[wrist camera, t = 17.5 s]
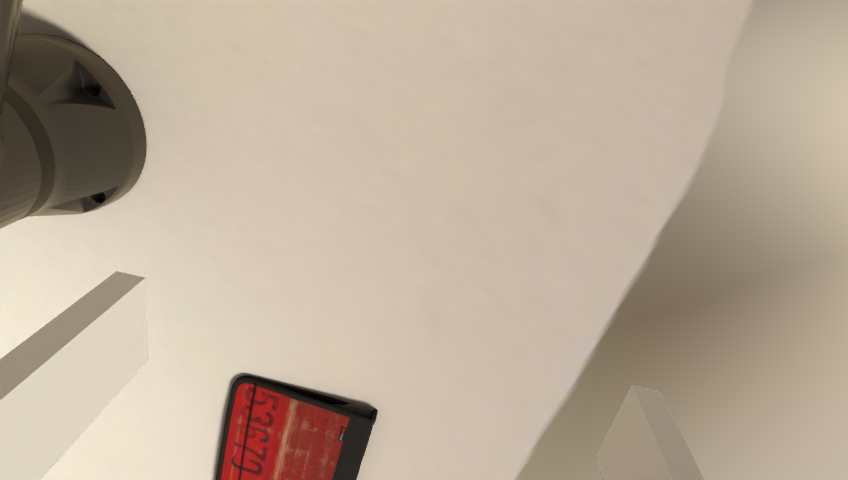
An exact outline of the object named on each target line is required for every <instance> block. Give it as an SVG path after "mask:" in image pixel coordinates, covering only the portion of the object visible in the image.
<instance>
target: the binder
mask: <svg viewBox="0 0 848 480" xmlns="http://www.w3.org/2000/svg"><path fill="white" fill-rule="evenodd" d="M332 404H337V405H346V404H349V403H347V402H344V401H342V400H338V399H335V398H332V397H328V396H325V395H321V394H318V393H314V392H310V391H307V390H303V389H299V388H295V387H292V386H288V385H284V384H280V383H276V382H272V381H268V380H264V379H260V378H256V377H252V376H242V377H239V378H238V379H237V380H236V381H235V383H234V384H233V386H232V389H231V394H230V399H229V404H228V409H227V414H226V419H225V425H224V432H223V437H222V444H221V449H220V456H219V462H218V468H217V475H216V480H356V478H357V476H358V472H359V469H360V465H361V462H362V459H363V456H364V453H365V450H366V447H367V444H368V441H369V437H370V434H371V431H372V427H373V425H374V423H375V420H376V417H377V409H374V410H373V411H372V414H371V417H370V418H366V417H364V416H361V415H359V414H357V413H354V412H351V411H349V410H346V409H342V408H339V407H336V406H334V405H332Z"/></svg>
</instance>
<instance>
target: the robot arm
mask: <svg viewBox="0 0 848 480" xmlns="http://www.w3.org/2000/svg"><path fill="white" fill-rule="evenodd" d="M22 2H23V0H0V228H2V227H4V226H7V225H9V224H11V223H13V222H15V221H18V220H20V219H23V218H25V217H27V216H49V215H72V214H82V213H86V212H90V211H94V210H97V209H99V208H101V207H104V206H106V205H108V204H110V203H112V202H114V201H116V200H118V199H119V198H121V197H122V196H124V195H125V194H126V193H127V192H128V191H130V189H131V188H132V187H133V186H134V185H135V183H136V182H137V180H138V178H139V176H140V174H141V172H142V169H143V166H144V162H145V157H146V134H145V128H144V124H143V120H142V117H141V114H140V111H139V109H138V106H137V104H136V102H135V100H134V98H133V96H132V95H131V93H130V91H129V90H128V88H127V87H126V85H125V84H124V82H123V81H122V80H121V79H120V77H119V76H118V75H117V74H116V73H115V72H114V71H113V69H112V68H110V67H109V66H108V65H107V64H106V63H105V62H104V61H103V60H102V59H100V58H99V57H98V56H96V55H95V54H94V53H92V52H91V51H89V50H88V49H86V48H84V47H82V46H80V45H78V44H76V43H74V42H72V41H69V40H67V39H64V38H60V37H56V36H51V35H43V34H17V30H18V25H19V19H20V13H21V8H22ZM148 360H149V359H148V333H147V308H146V282H145V278H144V277H140V276H135V275H131V274H126V273H121V272H117V271H116V272H115V273H114V274H112V275H111V276H110V277H108V278H107V279H106V280H104V281H103V282H102V283H100V284H99V285H98V286H97V287H95V288H94V289H93V290H91V291H90V292H89V293H87V294H86V295H85V296H83V297H82V298H81V299H79V300H78V301H77V302H75V303H74V304H73V305H71V306H70V307H69V308H67V309H66V310H65V311H64V312H62V313H61V314H60V315H58V316H57V317H56V318H54V319H53V320H52V321H50V322H49V323H48V324H46V325H45V326H44V327H42V328H41V329H40V330H38V331H37V332H36V333H35V334H33V335H32V336H31V337H29V338H28V339H27V340H25V341H24V342H23V343H21V344H20V345H19V346H17V347H16V348H15V349H13V350H12V351H11V352H9V353H8V354H7V355H5V356H4V357H3V358H2V359H0V480H41V479H42V478H43V477H44V475H45V474H46V473H47V472H48V471H49V470H50V469H51V468H52V467H53V465H54V464H55V463H56V462H57V461H58V460H59V459H60V458H61V457H62V455H63V454H64V453H65V452H66V451H67V450H68V449H69V448H70V447H71V445H72V444H73V443H74V442H75V441H76V440H77V439H78V438H79V437H80V435H81V434H82V433H83V432H84V431H85V430H86V429H87V428H88V427H89V425H90V424H91V423H92V422H93V421H94V420H95V419H96V418H97V417H98V415H99V414H100V413H101V412H102V411H103V410H104V409H105V408H106V407H107V405H108V404H109V403H110V402H111V401H112V400H113V399H114V398H115V397H116V395H117V394H118V393H119V392H120V391H121V390H122V389H123V388H124V387H125V385H126V384H127V383H128V382H129V381H130V380H131V379H132V378H133V377H134V375H135V374H136V373H137V372H138V371H139V370H140V369H141V368H142V367H143V365H144V364H145V363H146V362H147V361H148ZM596 459H597V463H598V466H599V470H600V474H601V477H602V480H704V478H703V476H702V474H701V472H700V470H699V468H698V466H697V464H696V462H695V460H694V458H693V456H692V454H691V452H690V450H689V448H688V446H687V444H686V442H685V440H684V438H683V436H682V434H681V432H680V430H679V428H678V426H677V424H676V422H675V420H674V418H673V416H672V414H671V412H670V410H669V408H668V406H667V404H666V402H665V400H664V398H663V396H662V394H661V392H660V391H658V390H653V389H649V388H644V387H640V386H635V385H632V386H631V388H630V390H629V392H628V394H627V396H626V398H625V400H624V402H623V404H622V406H621V408H620V410H619V412H618V414H617V416H616V418H615V420H614V422H613V424H612V426H611V428H610V430H609V432H608V434H607V436H606V438H605V440H604V442H603V444H602V446H601V448H600V450H599V452H598V454H597V456H596Z"/></svg>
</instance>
